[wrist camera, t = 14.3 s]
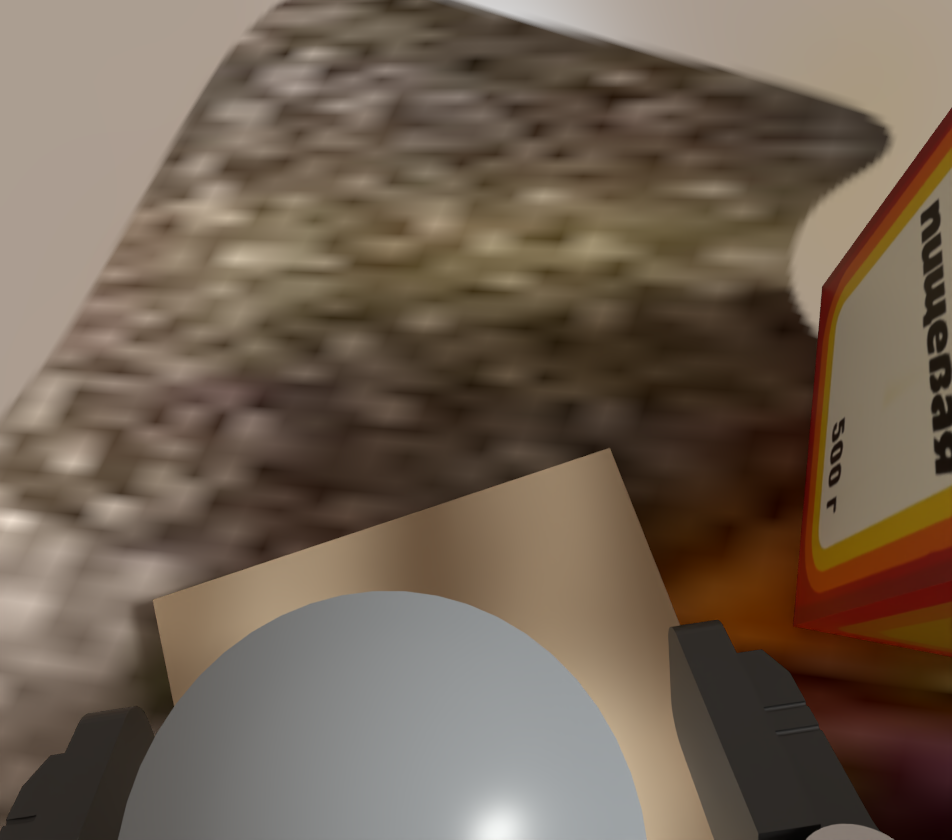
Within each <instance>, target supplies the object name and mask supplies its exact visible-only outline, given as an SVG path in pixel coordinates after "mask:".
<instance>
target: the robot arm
mask: <svg viewBox="0 0 952 840" xmlns="http://www.w3.org/2000/svg"><path fill="white" fill-rule="evenodd" d="M668 643H669V665H670V687H671V705H672V712H673V718H674V723H675V728H676V732H677V736H678V739H679V743H680V746H681V749H682V751H683V754H684V757H685V760H686V763H687V765H688V768H689V771H690V774H691V777H692V779H693V782H694V785H695V788H696V791H697V793H698V796H699V799H700V802H701V805H702V807H703V810H704V813H705V816H706V819H707V821H708V824H709V827H710V830H711V833H712V835H713V838H714V840H894V839H892V838H891V837H889V836H887V835H886V834H884V833H882V832H881V831H880V830H879V829H878V828H877V827H876V825H875V824H874V822H873V821H872V819H871V817H870V816H869V814H868V812H867V810H866V809H865V807H864V805H863V803H862V801H861V800H860V798H859V796H858V794H857V792H856V791H855V789H854V787H853V785H852V783H851V782H850V780H849V778H848V776H847V774H846V773H845V771H844V769H843V767H842V765H841V764H840V762H839V760H838V758H837V757H836V755H835V753H834V751H833V749H832V748H831V746H830V744H829V742H828V740H827V739H826V737H825V735H824V733H823V731H822V730H820V729H819V725H818V722H817V721H816V719H815V717H814V715H813V713H812V712H811V710H810V708H809V706H806V702H805V699H804V697H803V695H802V694H801V692H800V690H799V688H798V687H797V685H796V683H795V681H794V679H793V678H792V676H791V674H790V672H789V671H788V670H786V669H785V668H784V667H783V666H781V665H780V664H779V663H778V662H776V661H775V660H774V659H773V658H772V657H770V656H769V655H768V654H767V653H765V652H764V651H763V650H762V649H761V650H754V651H748V652H741V653H736V651H735V649H734V647H733V645H732V643H731V641H730V639H729V637H728V635H727V633H726V630H725V628H724V627H723V625H722V623H721V622H720V621H719V620H712V621H706V622H699V623H693V624H686V625H680V626H673V627H670V628H669V631H668ZM154 738H155V736H154V734H153V731H152V729H151V726H150V724H149V722H148V719H147V717H146V715H145V713H144V711H143V710H142V709H141V708H140V707H138V706H134V707H128V708H121V709H115V710H108V711H101V712H95V713H88V714H86V715H85V716H83V717H82V719H81V720H80V722H79V724H78V726H77V728H76V730H75V732H74V735H73V737H72V739H71V741H70V743H69V745H68V748H67V750H66V752H65V753H63V754H57V755H50V757H49V758H48V759H47V760H46V761H45V762H44V763H43V764H42V765H41V766H40V768H39V769H38V770H37V771H36V772H35V773H34V774H33V775H32V776H31V778H30V779H29V780H28V781H27V782H26V783H25V784H24V785H23V786H22V788H21V790H20V792H19V794H18V796H17V798H16V801H15V803H14V805H13V807H12V809H11V811H10V813H9V815H8V817H7V819H6V821H7V823H6V826H3V827H2V829H1V831H0V840H118V837H119V833H120V829H121V825H122V820H123V816H124V812H125V808H126V804H127V801H128V798H129V795H130V792H131V790H132V787H133V784H134V782H135V779H136V776H137V773H138V771H139V768H140V766H141V764H142V762H143V760H144V758H145V756H146V754H147V752H148V750H149V748H150V746H151V744H152V742H153V740H154Z"/></svg>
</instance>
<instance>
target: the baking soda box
mask: <svg viewBox="0 0 952 840" xmlns="http://www.w3.org/2000/svg"><path fill="white" fill-rule="evenodd" d="M793 626H795V627H800V628H805V629H810V630H815V631H820V632H826V633H831V634H836V635H841V636H846V637H851V638H857V639H862V640H867V641H872V642H877V643H882V644H888V645H893V646H898V647H903V648H908V649H913V650H918V651H924V652H929V653H934V654H939V655H944V656H949V657H952V108H951V109H950V111H949V112H948V114H947V115H946V116H945V118H944V119H943V120H942V122H941V123H940V125H939V126H938V128H937V129H936V130H935V132H934V133H933V134H932V136H931V137H930V138H929V140H928V141H927V143H926V144H925V145H924V147H923V148H922V150H921V151H920V152H919V154H918V155H917V156H916V158H915V159H914V161H913V162H912V163H911V165H910V166H909V167H908V169H907V170H906V172H905V173H904V175H903V176H902V177H901V179H900V180H899V181H898V183H897V184H896V185H895V187H894V188H893V190H892V191H891V192H890V194H889V195H888V196H887V198H886V199H885V201H884V202H883V203H882V205H881V206H880V207H879V209H878V210H877V212H876V213H875V215H874V216H873V217H872V219H871V220H870V221H869V223H868V224H867V225H866V227H865V228H864V230H863V231H862V232H861V234H860V235H859V236H858V238H857V239H856V241H855V242H854V243H853V245H852V246H851V248H850V249H849V250H848V252H847V253H846V254H845V256H844V257H843V259H842V260H841V261H840V263H839V264H838V266H837V267H836V268H835V270H834V271H833V272H832V274H831V275H830V277H829V278H828V279H827V281H826V282H825V283H824V285H823V286H822V296H821V307H820V319H819V331H818V342H817V354H816V366H815V377H814V389H813V400H812V412H811V424H810V435H809V447H808V459H807V470H806V482H805V493H804V505H803V517H802V528H801V540H800V551H799V563H798V575H797V586H796V598H795V610H794V621H793Z"/></svg>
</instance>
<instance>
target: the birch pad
mask: <svg viewBox="0 0 952 840" xmlns="http://www.w3.org/2000/svg"><path fill="white" fill-rule="evenodd" d="M371 591H407V592H414V593H421V594H429V595H436V596H440V597H444V598H447V599H451V600H454V601H458V602H462V603H465V604H468V605H471V606H473V607H476V608H478V609H480V610H483V611H485V612H487V613H490V614H492V615H494V616H497V617H499V618H500V619H502V620H504V621H505V622H507V623H509V624H510V625H512V626H514V627H515V628H517V629H519V630H520V631H522V632H524V633H525V634H527V635H528V636H529V637H531V638H532V639H533V640H535V641H536V642H537V643H538V644H540V645H541V646H542V647H543V648H545V649H546V650H547V651H549V652H550V653H551V654H552V655H553V656H554V657H555V658H556V659H557V660H558V661H559V662H560V663H561V664H562V665H563V666H564V667H565V668H566V669H567V670H568V671H569V672H570V673H571V674H572V675H573V676H574V677H575V678H576V679H577V680H578V682H579V683H580V684H581V686H582V687H583V688H584V690H585V691H586V692H587V693H588V695H589V696H590V697H591V699H592V700H593V701H594V703H595V704H596V705H597V707H598V708H599V710H600V712H601V713H602V715H603V717H604V718H605V720H606V722H607V724H608V725H609V727H610V729H611V730H612V732H613V734H614V736H615V737H616V739H617V741H618V744H619V746H620V748H621V751H622V753H623V755H624V758H625V760H626V762H627V765H628V767H629V769H630V772H631V775H632V778H633V781H634V785H635V788H636V792H637V795H638V798H639V802H640V805H641V809H642V814H643V820H644V826H645V832H646V837H647V840H714V838H713V835H712V833H711V830H710V827H709V824H708V821H707V819H706V816H705V813H704V810H703V807H702V805H701V802H700V799H699V796H698V793H697V791H696V788H695V785H694V782H693V779H692V777H691V774H690V771H689V768H688V765H687V763H686V760H685V757H684V754H683V751H682V749H681V746H680V743H679V739H678V736H677V732H676V728H675V723H674V718H673V712H672V705H671V687H670V665H669V643H668V631H669V628H670V627H673V626H680V624H679V621H678V619H677V616H676V614H675V611H674V609H673V606H672V604H671V601H670V599H669V596H668V594H667V591H666V588H665V586H664V583H663V581H662V578H661V576H660V573H659V571H658V568H657V566H656V563H655V561H654V558H653V556H652V553H651V551H650V548H649V546H648V543H647V541H646V538H645V536H644V533H643V531H642V528H641V525H640V523H639V520H638V518H637V515H636V513H635V510H634V508H633V505H632V503H631V500H630V498H629V495H628V493H627V490H626V488H625V485H624V483H623V480H622V478H621V475H620V473H619V470H618V468H617V465H616V462H615V460H614V457H613V455H612V452H611V450H610V448H608V449H605V450H602V451H599V452H596V453H593V454H590V455H587V456H584V457H581V458H578V459H575V460H572V461H569V462H566V463H563V464H560V465H557V466H554V467H551V468H548V469H545V470H542V471H539V472H536V473H533V474H530V475H527V476H524V477H521V478H518V479H515V480H512V481H509V482H506V483H503V484H500V485H497V486H494V487H491V488H488V489H485V490H482V491H478V492H475V493H472V494H469V495H466V496H463V497H460V498H457V499H454V500H451V501H448V502H445V503H442V504H439V505H436V506H433V507H430V508H427V509H424V510H421V511H418V512H415V513H412V514H409V515H406V516H403V517H400V518H397V519H394V520H391V521H388V522H385V523H382V524H379V525H376V526H373V527H370V528H367V529H364V530H361V531H358V532H355V533H352V534H349V535H346V536H343V537H340V538H337V539H334V540H331V541H328V542H325V543H322V544H319V545H316V546H313V547H310V548H307V549H304V550H301V551H298V552H295V553H292V554H289V555H286V556H283V557H280V558H277V559H274V560H271V561H268V562H265V563H262V564H259V565H256V566H253V567H250V568H247V569H244V570H241V571H238V572H235V573H232V574H229V575H226V576H223V577H220V578H217V579H214V580H211V581H208V582H205V583H202V584H199V585H196V586H193V587H190V588H187V589H184V590H181V591H178V592H175V593H172V594H169V595H166V596H163V597H160V598H156V599H153V604H154V609H155V614H156V619H157V624H158V629H159V634H160V639H161V644H162V649H163V654H164V659H165V664H166V669H167V674H168V679H169V683H170V688H171V693H172V698H173V703H174V706H175V705H176V703H177V702H178V701H179V700H180V698H181V697H182V696H183V695H184V694H185V692H186V691H187V690H188V689H189V688H190V686H191V685H192V684H193V683H194V682H195V680H196V679H197V678H198V677H199V676H200V675H201V674H202V673H203V672H204V671H205V670H206V669H207V668H208V667H209V666H210V665H211V664H212V663H214V662H215V661H216V660H217V659H218V658H219V657H220V656H221V655H222V654H223V653H224V652H225V651H227V650H228V649H229V648H231V647H232V646H234V645H235V644H236V643H238V642H239V641H240V640H242V639H243V638H244V637H246V636H247V635H248V634H250V633H251V632H253V631H255V630H256V629H258V628H260V627H262V626H263V625H265V624H267V623H269V622H270V621H272V620H274V619H276V618H278V617H279V616H281V615H284V614H286V613H289V612H291V611H294V610H296V609H299V608H301V607H303V606H306V605H308V604H311V603H315V602H318V601H322V600H326V599H330V598H333V597H337V596H341V595H348V594H356V593H363V592H371Z"/></svg>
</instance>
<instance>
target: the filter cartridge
mask: <svg viewBox="0 0 952 840" xmlns="http://www.w3.org/2000/svg"><path fill="white" fill-rule="evenodd" d="M118 840H647V837H646V832H645V826H644V820H643V814H642V809H641V805H640V802H639V798H638V795H637V792H636V788H635V785H634V781H633V778H632V775H631V772H630V769H629V767H628V765H627V762H626V760H625V758H624V755H623V753H622V751H621V748H620V746H619V744H618V741H617V739H616V737H615V736H614V734H613V732H612V730H611V729H610V727H609V725H608V724H607V722H606V720H605V718H604V717H603V715H602V713H601V712H600V710H599V708H598V707H597V705H596V704H595V703H594V701H593V700H592V699H591V697H590V696H589V695H588V693H587V692H586V691H585V690H584V688H583V687H582V686H581V684H580V683H579V682H578V680H577V679H576V678H575V677H574V676H573V675H572V674H571V673H570V672H569V671H568V670H567V669H566V668H565V667H564V666H563V665H562V664H561V663H560V662H559V661H558V660H557V659H556V658H555V657H554V656H553V655H552V654H551V653H550V652H549V651H547V650H546V649H545V648H543V647H542V646H541V645H540V644H538V643H537V642H536V641H535V640H533V639H532V638H531V637H529V636H528V635H527V634H525V633H524V632H522V631H520V630H519V629H517V628H515V627H514V626H512V625H510V624H509V623H507V622H505V621H504V620H502V619H500V618H499V617H497V616H494V615H492V614H490V613H487V612H485V611H483V610H480V609H478V608H476V607H473V606H471V605H468V604H465V603H462V602H458V601H454V600H451V599H447V598H444V597H440V596H436V595H429V594H421V593H414V592H407V591H371V592H363V593H356V594H348V595H341V596H337V597H333V598H330V599H326V600H322V601H318V602H315V603H311V604H308V605H306V606H303V607H301V608H299V609H296V610H294V611H291V612H289V613H286V614H284V615H281V616H279V617H278V618H276V619H274V620H272V621H270V622H269V623H267V624H265V625H263V626H262V627H260V628H258V629H256V630H255V631H253V632H251V633H250V634H248V635H247V636H246V637H244V638H243V639H242V640H240V641H239V642H238V643H236V644H235V645H234V646H232V647H231V648H229V649H228V650H227V651H225V652H224V653H223V654H222V655H221V656H220V657H219V658H218V659H217V660H216V661H215V662H214V663H212V664H211V665H210V666H209V667H208V668H207V669H206V670H205V671H204V672H203V673H202V674H201V675H200V676H199V677H198V678H197V679H196V680H195V682H194V683H193V684H192V685H191V686H190V688H189V689H188V690H187V691H186V692H185V694H184V695H183V696H182V697H181V698H180V700H179V701H178V702H177V703H176V705H175V706H174V708H173V709H172V711H171V712H170V714H169V715H168V717H167V718H166V720H165V721H164V723H163V725H162V726H161V728H160V729H159V731H158V732H157V734H156V736H155V738H154V740H153V742H152V744H151V746H150V748H149V750H148V752H147V754H146V756H145V758H144V760H143V762H142V764H141V766H140V768H139V771H138V773H137V776H136V779H135V782H134V784H133V787H132V790H131V792H130V795H129V798H128V801H127V804H126V808H125V812H124V816H123V820H122V825H121V829H120V833H119V837H118Z"/></svg>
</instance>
